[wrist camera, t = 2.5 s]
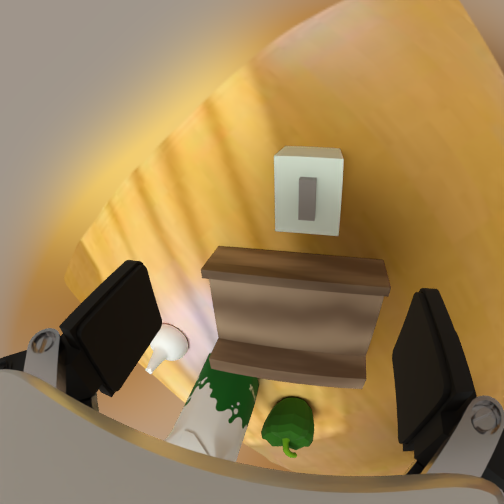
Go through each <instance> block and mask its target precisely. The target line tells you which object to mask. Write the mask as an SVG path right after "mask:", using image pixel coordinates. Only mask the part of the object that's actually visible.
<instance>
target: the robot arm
mask: <svg viewBox="0 0 504 504" xmlns="http://www.w3.org/2000/svg"><path fill="white" fill-rule="evenodd" d="M161 326H162V319H161V316H160V312H159V309H158V306H157V303H156V299H155V296H154V292H153V289H152V286H151V282H150V278H149V275H148V271H147V268H146V267H145V266H144V265H143V263H142V262H140V261H133V260H127V261H125V262H124V263H123V264H122V265H121V266H120V267H119V268H118V269H116V270H115V271H114V272H113V273H112V274H111V275H110V276H109V277H108V278H107V279H106V280H105V281H104V282H103V283H102V284H101V285H100V286H99V287H97V288H96V289H95V290H94V291H93V292H92V293H91V294H90V295H89V296H88V297H87V298H86V299H85V300H84V301H83V302H82V303H81V304H80V305H79V306H78V307H77V308H76V309H75V310H74V312H72V313H71V314H70V315H69V316H68V318H67V319H66V320H65V321H64V322H63V323H62V324H61V325H60V326H59V327H60V328H61V330H62V332H63V334H62V335H61V336H60V334H59V333H58V331H57V330H55V329H52V328H48V329H44V330H41V331H39V332H38V333H36V334H35V335H34V336H33V337H32V339H31V340H30V342H29V345H28V349H27V350H25V351H22V352H19V353H16V354H12V355H9V356H6V357H3V358H0V504H504V410H503V408H502V406H501V405H500V403H499V402H498V401H497V400H495V399H494V398H492V397H490V396H479V397H477V396H476V392H475V388H474V385H473V381H472V377H471V374H470V371H469V367H468V364H467V361H466V358H465V355H464V352H463V349H462V346H461V343H460V340H459V337H458V335H457V333H456V331H455V329H454V327H453V324H452V321H451V319H450V316H449V314H448V311H447V309H446V307H445V304H444V302H443V300H442V297H441V295H440V293H439V291H438V289H429V288H421V289H420V291H419V292H416V293H415V294H414V296H413V299H412V302H411V305H410V308H409V311H408V313H407V316H406V319H405V322H404V324H403V327H402V330H401V332H400V335H399V337H398V340H397V342H396V345H395V347H394V350H393V354H392V361H393V369H394V379H395V389H396V402H397V418H398V441H399V443H400V444H402V443H403V451H414V458H415V460H414V462H413V463H412V464H411V465H410V467H409V468H408V469H407V470H406V471H405V473H404V474H403V475H395V476H332V475H316V474H305V473H296V472H287V471H280V470H274V469H268V468H262V467H257V466H252V465H247V464H242V463H237V462H233V461H229V460H225V459H221V458H217V457H213V456H210V455H206V454H202V453H199V452H196V451H193V450H189V449H186V448H183V447H180V446H177V445H174V444H171V443H169V442H166V441H163V440H160V439H158V438H155V437H153V436H150V435H148V434H145V433H143V432H140V431H138V430H136V429H133V428H131V427H129V426H127V425H124V424H122V423H120V422H118V421H116V420H114V419H112V418H109V417H107V416H105V415H103V414H101V413H99V410H98V403H97V393H96V392H97V391H98V389H99V390H100V391H101V392H102V393H104V394H106V395H108V396H110V397H112V396H113V394H114V393H115V392H116V391H118V390H120V388H121V387H122V385H123V384H124V382H125V381H126V379H127V377H128V376H129V375H130V373H131V372H132V370H133V369H134V367H135V366H136V364H137V363H138V361H139V360H140V358H141V357H142V355H143V354H144V352H145V351H146V349H147V348H148V346H149V345H150V343H151V342H152V340H153V339H154V338H155V336H156V335H157V333H158V332H159V330H160V329H161Z"/></svg>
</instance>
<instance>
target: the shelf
mask: <svg viewBox="0 0 504 504" xmlns="http://www.w3.org/2000/svg"><path fill="white" fill-rule="evenodd" d="M201 273H202V278H206V279H209V281H210V288H211V294H212V301H213V307H214V313H215V319H216V325H217V331H218V337H219V338H218V340H217V343H216V345H215V347H214V349H213V351H212V353H211V355H210V357H209V361H210V366H211V369H215V370H220V371H225V372H230V373H235V374H240V375H245V376H251V377H257V378H263V379H269V380H276V381H283V382H290V383H298V384H306V385H316V386H326V387H338V388H354V389H362V388H363V386H364V383H365V381H366V353H367V350H368V347H369V344H370V341H371V338H372V335H373V332H374V329H375V326H376V322H377V319H378V316H379V312H380V309H381V305H382V302H383V298H384V296H387V297H388V296H389V293H390V289H391V286H390V283H389V279H388V275H387V271H386V268H385V264H384V261H383V260H377V259H366V258H354V257H342V256H331V255H319V254H307V253H295V252H284V251H272V250H260V249H248V248H236V247H224V246H218V248H217V249H216V250H215V251H214V253H213V254H212V255H211V257H210V258H209V259H208V261H207V262H206V263H205V265H204V266H203V267H202V269H201Z"/></svg>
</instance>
